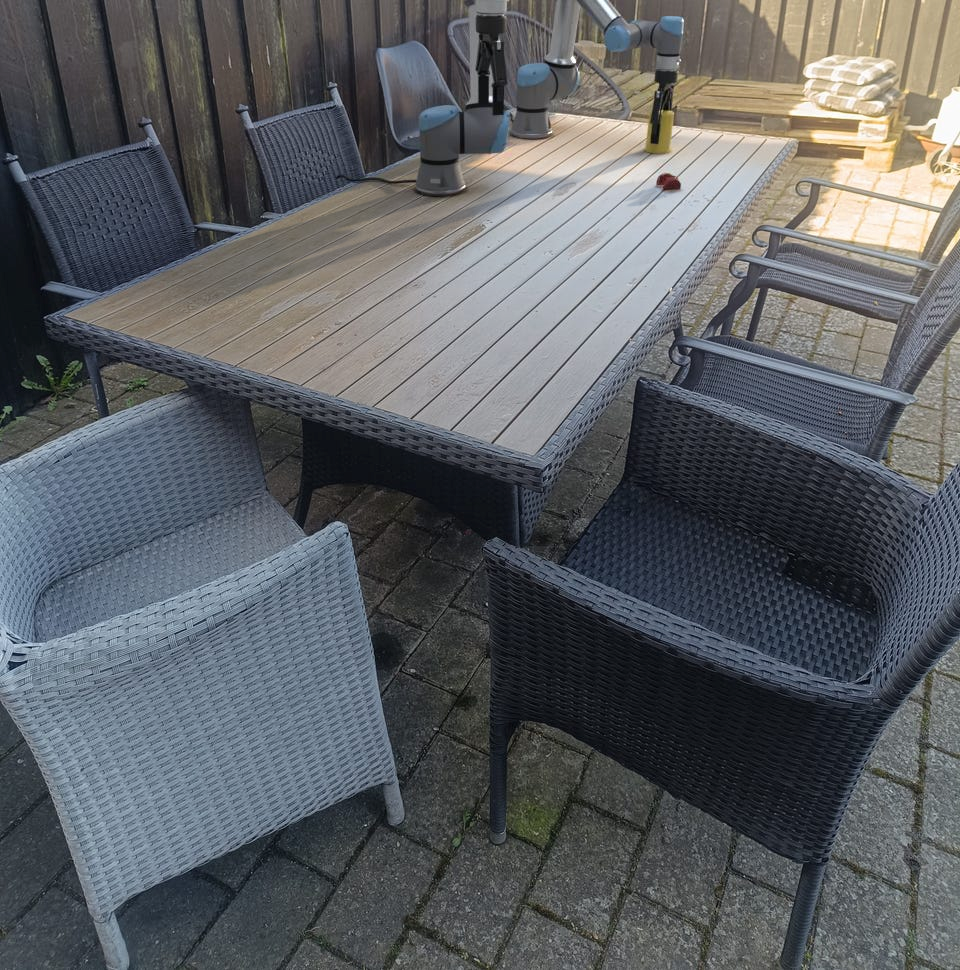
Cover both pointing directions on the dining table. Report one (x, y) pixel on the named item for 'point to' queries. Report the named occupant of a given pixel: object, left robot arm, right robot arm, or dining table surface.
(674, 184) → the dental model
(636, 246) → the dining table surface
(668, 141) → the cylinder
